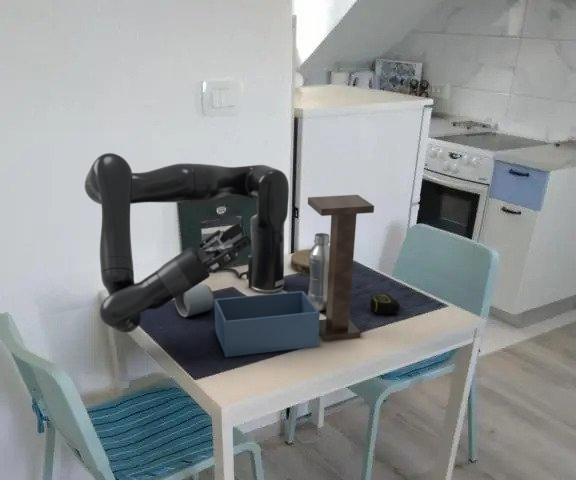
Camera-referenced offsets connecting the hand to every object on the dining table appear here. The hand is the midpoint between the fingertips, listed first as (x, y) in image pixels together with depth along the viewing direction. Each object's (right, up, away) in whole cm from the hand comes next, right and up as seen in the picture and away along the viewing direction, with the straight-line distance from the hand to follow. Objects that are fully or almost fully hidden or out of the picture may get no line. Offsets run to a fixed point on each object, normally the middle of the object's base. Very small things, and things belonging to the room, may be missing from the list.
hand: (245, 232), depth 134 cm
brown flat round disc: (+18, +3, +59) cm, 61 cm away
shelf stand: (+20, -20, +19) cm, 34 cm away
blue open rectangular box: (+4, -22, +15) cm, 27 cm away
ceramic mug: (-16, -14, +28) cm, 35 cm away
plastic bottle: (+18, -13, +31) cm, 38 cm away
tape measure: (+35, -14, +31) cm, 48 cm away
